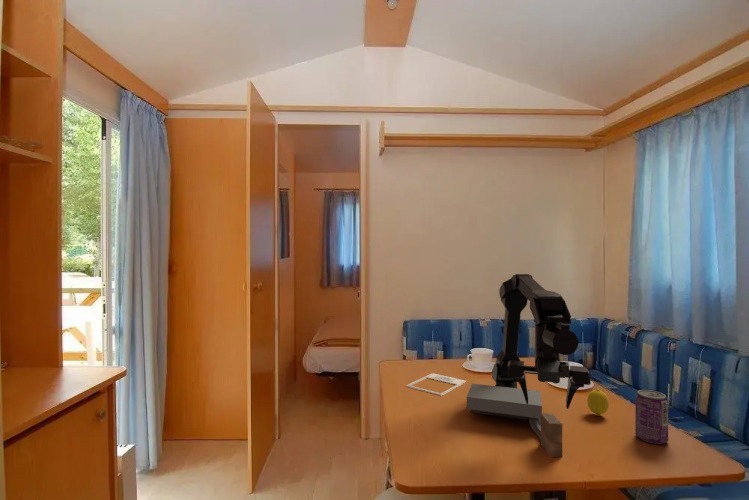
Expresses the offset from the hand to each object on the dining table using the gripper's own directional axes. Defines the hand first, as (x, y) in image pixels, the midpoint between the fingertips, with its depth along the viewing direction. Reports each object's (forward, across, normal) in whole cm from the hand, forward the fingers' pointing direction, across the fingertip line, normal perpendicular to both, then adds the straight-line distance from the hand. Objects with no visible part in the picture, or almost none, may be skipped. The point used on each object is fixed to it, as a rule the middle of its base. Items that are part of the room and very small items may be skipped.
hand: (546, 405), depth 102 cm
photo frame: (+12, -35, +37) cm, 53 cm away
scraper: (+11, -1, +5) cm, 12 cm away
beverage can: (+11, +26, +14) cm, 32 cm away
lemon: (+11, +15, +26) cm, 32 cm away
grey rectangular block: (+11, -11, +14) cm, 21 cm away
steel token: (+11, 0, +14) cm, 18 cm away
